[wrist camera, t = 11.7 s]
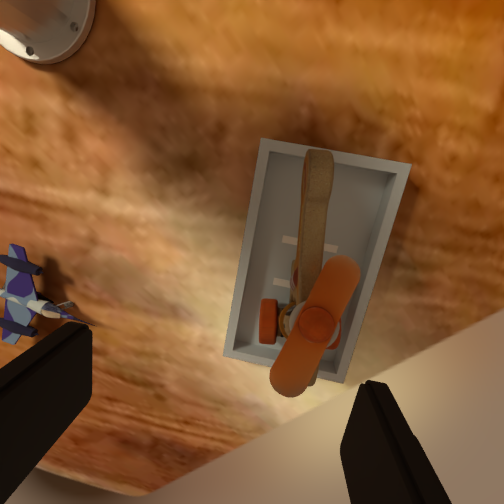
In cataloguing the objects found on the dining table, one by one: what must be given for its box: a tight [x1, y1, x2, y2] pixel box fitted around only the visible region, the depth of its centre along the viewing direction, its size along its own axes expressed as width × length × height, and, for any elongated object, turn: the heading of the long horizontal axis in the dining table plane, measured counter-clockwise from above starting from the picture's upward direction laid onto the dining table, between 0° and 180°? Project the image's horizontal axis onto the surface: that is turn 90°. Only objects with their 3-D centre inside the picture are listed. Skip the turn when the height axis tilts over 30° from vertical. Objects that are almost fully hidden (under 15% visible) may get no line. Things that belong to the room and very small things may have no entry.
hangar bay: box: [223, 138, 412, 383], centre depth 30 cm, size 24×14×3 cm, turn 170°
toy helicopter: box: [259, 149, 361, 397], centre depth 24 cm, size 8×21×14 cm, turn 178°
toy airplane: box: [0, 244, 95, 345], centre depth 35 cm, size 13×14×4 cm
